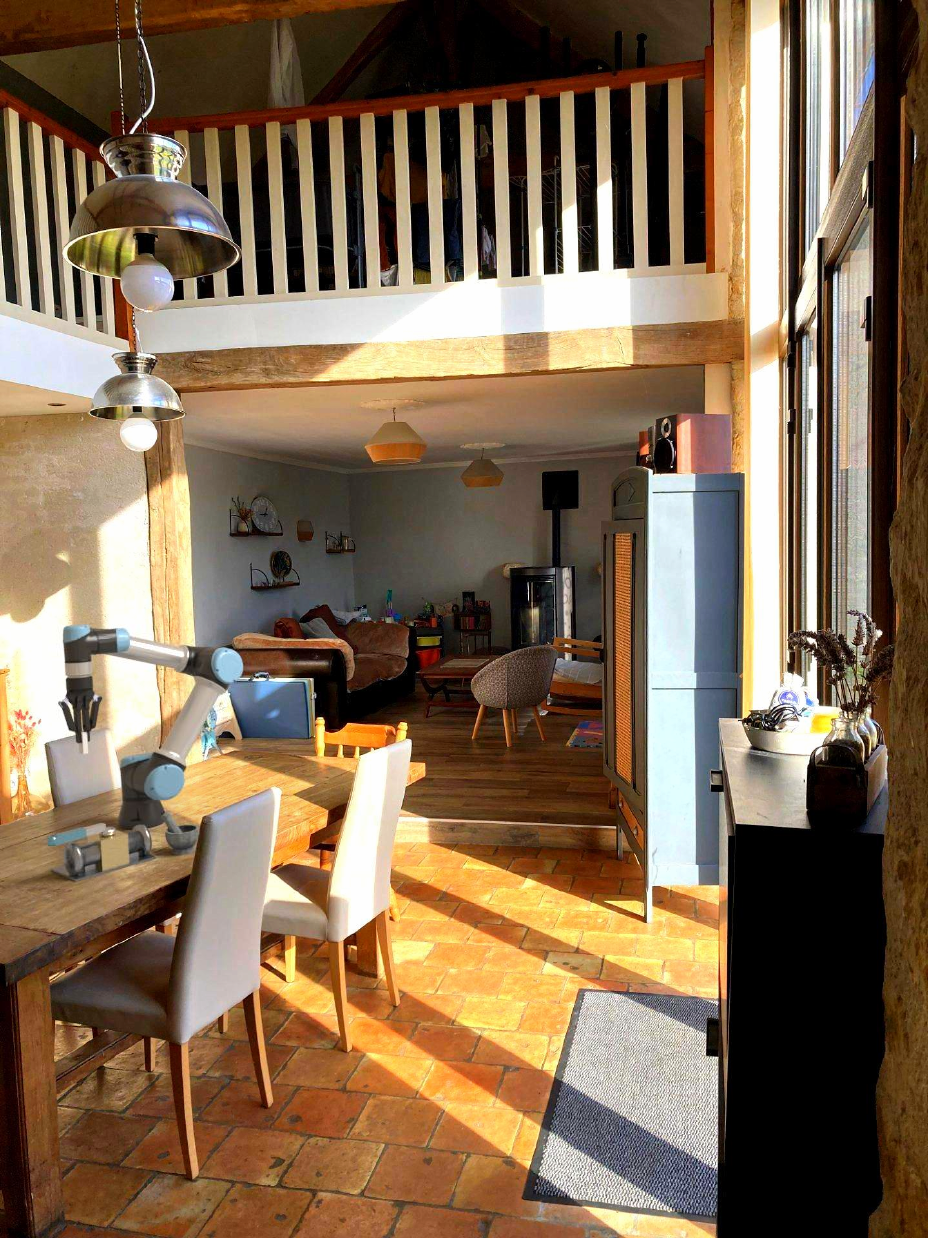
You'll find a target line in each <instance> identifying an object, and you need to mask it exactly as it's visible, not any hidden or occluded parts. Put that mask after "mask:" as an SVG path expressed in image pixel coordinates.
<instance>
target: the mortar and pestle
mask: <svg viewBox="0 0 928 1238" xmlns="http://www.w3.org/2000/svg"><path fill="white" fill-rule="evenodd" d="M161 818H162V819H163V820H164V823H165V825H166V827H167V828H166V830H164V834H165V835H164V837H165V840H166V843H167V844H168V846H169V847H171V848H172V854H173V855H175V856H183V855H190V854H192V853H194V851H195V845H196V844H197V841H198V838H199V837H198V835H199V836H200V826H198V825H195V824H180V825H179V824H177V822H176V821H175V819H174V818H173V817H172V815H171V812H170V811H167V812H166V811H165V813H164V814H163V815H162V816H161Z"/></svg>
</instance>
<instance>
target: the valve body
mask: <svg viewBox="0 0 928 1238" xmlns="http://www.w3.org/2000/svg"><path fill="white" fill-rule="evenodd" d="M115 831H116V834H114V835H112V836H106V837H102V836H99V833H97V834H93V835H89V836H87V837H86V839H87V843H85V844H81V845H79V844H78V843H77V842H76V841H70V842H67V843H64V844H65V845H64V847H63V849H62V859H63V864H64V865H60V866H56V867H51V868H50V870H51V872H53V873H54V874H58V875H59V876H63V877H64V878H66V879H69V880H71V881H73V882H80V881H82V880H86V879H91V878H94V877H97V876H100V875H103V874H106V873H111V872H113V871H117V870H121V869H124V868H128V867H132V866H135V865H137V864H142V863H145V862H147V861H153V860H155V859H156V858H157V856H156V855H153V854H150V853H151V851H152V848H153V847H152V845H153V840H152V836H151V835H152V834H151V833H150V830H149V827H148V828H147V827H146V826H145V825H143V824H140V825H136V826H134V828H133V829H131V831H130V832H127V833H126V832H124V831H121V830H117V829H115Z"/></svg>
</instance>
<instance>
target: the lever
mask: <svg viewBox="0 0 928 1238" xmlns="http://www.w3.org/2000/svg"><path fill="white" fill-rule="evenodd" d="M106 825H107V824H106V823H104V822H100V823H99V822H98V823H96V824H92V825H88V826H84V827H78V828H73V829H69V830H66V831H62V832H58V833H55V834H52V835H48V836H46V840H47V841H46V842H47V847H55V846H58V845H59V846H60V845H62V844H67V843H70V842H75V841H78V840H80V839H84V838H87V836H89V835H93V834H97V833H99V836H102V837H106V836H112V835H114V834H116V831H115V830H116V827H115V826H106Z"/></svg>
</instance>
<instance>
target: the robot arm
mask: <svg viewBox="0 0 928 1238" xmlns="http://www.w3.org/2000/svg"><path fill="white" fill-rule="evenodd" d="M62 630H63V631H62V643H63V644H62V645H63V654H64V655H63V656H64V673H65V677H66V678H65V688H66V694H65V697H64V699H62V700H60V701H58V706H59V707H60V708H61V709H62V713H63V716H64V717H63V718H64V719H65V723H66V726H67V729H68V731H69V732H73V733H74V735H75V742H76V744H78V751H79V754H82V755H86V754H89V743H90V742H91V735H90V734H91V733H90V732H92V730H93V729H96V728H97V723H98V722H97V721H98V716H99V710H100V705H101V702H102V700H103V697H102V696H100V695H97V694H96V693H95V691H94V679H93V676H92V674H93V665H92V664H93V663H92V656H96V655H107V656H112V657H117V658H122V659H124V660H125V659H126V660H132V661H136V662H141V663H145V664H146V663H147V664H149V665H156V666H160V667H165V668H170V669H171V668H172V669H173V670H174V672H176V673H179V674H180V673H181V674H183V675H184V674H185V675H188V676H190V677H193V679H194V683H195V684H194V686H193V688H192V690H191V692H190V693H189V695H188V697H187V700H186V701H185V702H184V705H183V706H182V709H181V710H180V712H179V713H178V716H177V718H176V720H175V721H174V723H173V725H172V726H171V729H170V730H169V732H168V735H167V736H166V738H165V740H164V742H163V744H162V745H161V747H160V748H159V749H156V750H154V751H153V752H147V753H140V754H139V753H138V754H134V755H129V756H125V757H122V758H121V759H120V762H119V764H120V765H119V770H120V771H119V772H120V785H121V797H122V798H121V800H122V802H121V807H120V810H119V814H118V817H117V826H118V827H119V828H120V829H123V830H125V829H126V830H132V829H133V828H134V826H136V825H140V824H143V825H145V826H146V827H147V828H148V829H149V828H152V827H156V826H159V825H161V824H163V823H165V822H164V820H163V819H162V818H161V816H162V815H163V814H164V813H166V811H165V809H164V806H163V804H162V802H161V801H169V800H172V799H173V798H175V797H176V796H178V795H179V794H180V793H181V791H182V790H183V789H184V787H185V782H186V779H185V771H186V769H187V766H188V765H187V762H186V759H187V757H188V755H189V753H190V751H191V749H192V747H193V746H194V744H195V742H196V740H197V739H198V736H199V734H200V732H201V731H202V728H203V726H204V724H205V723H206V720H207V719H208V717H209V715H210V714H211V712H212V710H213V708H214V705H215V704H216V702H217V700H218V698H219V696H220V695H223V694H225V693H227V692H228V689H229V686H230V685H231V684H234V683H236V682H237V681H238V680H240V678H241V677H242V675H243V671H244V664H243V659H242V657H241V655H240V654H239V653H238V652H237V651H235V650H233V649H232V648H228V647H215V646H193V645H186V644H181V645H180V646H176V645H174V644H173V645H172V644H169V643H163V642H158V641H154V640H150V639H144V638H140V637H136V636H132V635H131V636H130V633H129V631H128V630H127V629H126V628H118V627H115V628H96V627H95V628H94V627H90V625H88V624H73V625H72V624H70V625H66V626H64V627H63V629H62ZM91 702H92V703H91ZM70 705H71V706H72V708H71V709H72V711H71V709H70V707H69V706H70ZM90 705H91V708H90ZM72 713H73V715H72Z"/></svg>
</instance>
